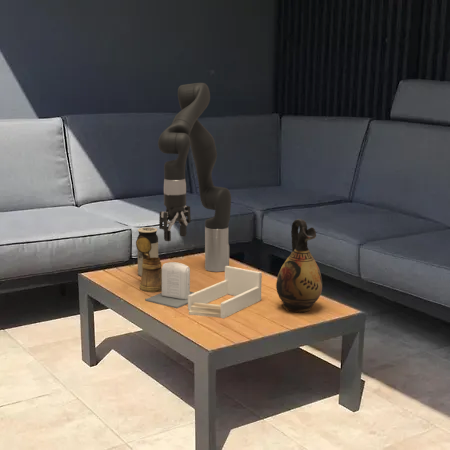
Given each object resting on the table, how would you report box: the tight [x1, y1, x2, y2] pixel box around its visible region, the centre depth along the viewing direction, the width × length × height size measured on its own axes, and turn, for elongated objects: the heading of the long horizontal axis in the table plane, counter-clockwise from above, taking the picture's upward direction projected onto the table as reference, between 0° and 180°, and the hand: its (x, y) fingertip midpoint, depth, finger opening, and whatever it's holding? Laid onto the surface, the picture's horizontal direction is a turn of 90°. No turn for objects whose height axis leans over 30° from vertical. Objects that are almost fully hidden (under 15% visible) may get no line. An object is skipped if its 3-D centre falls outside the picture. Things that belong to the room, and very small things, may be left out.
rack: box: [187, 265, 263, 319], centre depth 243 cm, size 23×14×10 cm, turn 145°
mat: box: [144, 291, 195, 309], centre depth 250 cm, size 16×14×1 cm
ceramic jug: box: [275, 218, 323, 313], centre depth 239 cm, size 17×15×30 cm
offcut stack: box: [188, 303, 222, 319], centre depth 235 cm, size 5×11×3 cm, turn 76°
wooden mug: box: [135, 236, 163, 293], centre depth 261 cm, size 9×14×18 cm, turn 33°
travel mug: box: [136, 227, 159, 277], centre depth 277 cm, size 8×8×18 cm
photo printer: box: [161, 261, 191, 300], centre depth 249 cm, size 10×4×12 cm, turn 66°
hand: (175, 238), depth 246 cm, fingers open, 8 cm apart
